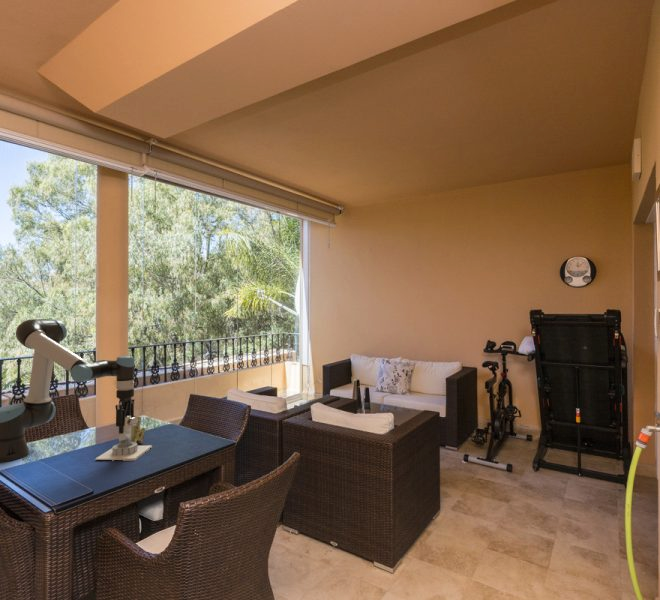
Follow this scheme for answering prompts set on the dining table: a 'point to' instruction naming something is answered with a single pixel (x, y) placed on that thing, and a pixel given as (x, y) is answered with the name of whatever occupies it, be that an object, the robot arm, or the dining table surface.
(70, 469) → the dining table surface
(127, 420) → the elbow
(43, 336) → the robot arm
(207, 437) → the dining table surface
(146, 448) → the plate
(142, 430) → the mechanical component
